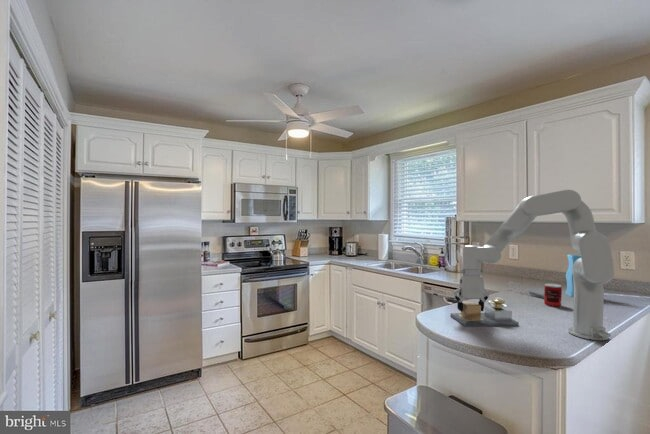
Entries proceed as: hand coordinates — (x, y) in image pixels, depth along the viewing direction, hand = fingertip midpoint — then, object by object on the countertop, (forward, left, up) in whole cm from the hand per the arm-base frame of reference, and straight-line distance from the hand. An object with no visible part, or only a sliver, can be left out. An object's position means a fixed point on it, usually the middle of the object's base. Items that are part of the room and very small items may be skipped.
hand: (470, 310), depth 149 cm
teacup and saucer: (+30, -31, -5) cm, 44 cm away
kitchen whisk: (+49, -65, -5) cm, 82 cm away
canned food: (+26, -61, -5) cm, 66 cm away
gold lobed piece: (0, -13, 0) cm, 13 cm away
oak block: (0, 0, -3) cm, 3 cm away
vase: (+45, -93, -5) cm, 103 cm away
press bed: (0, -6, -5) cm, 8 cm away
